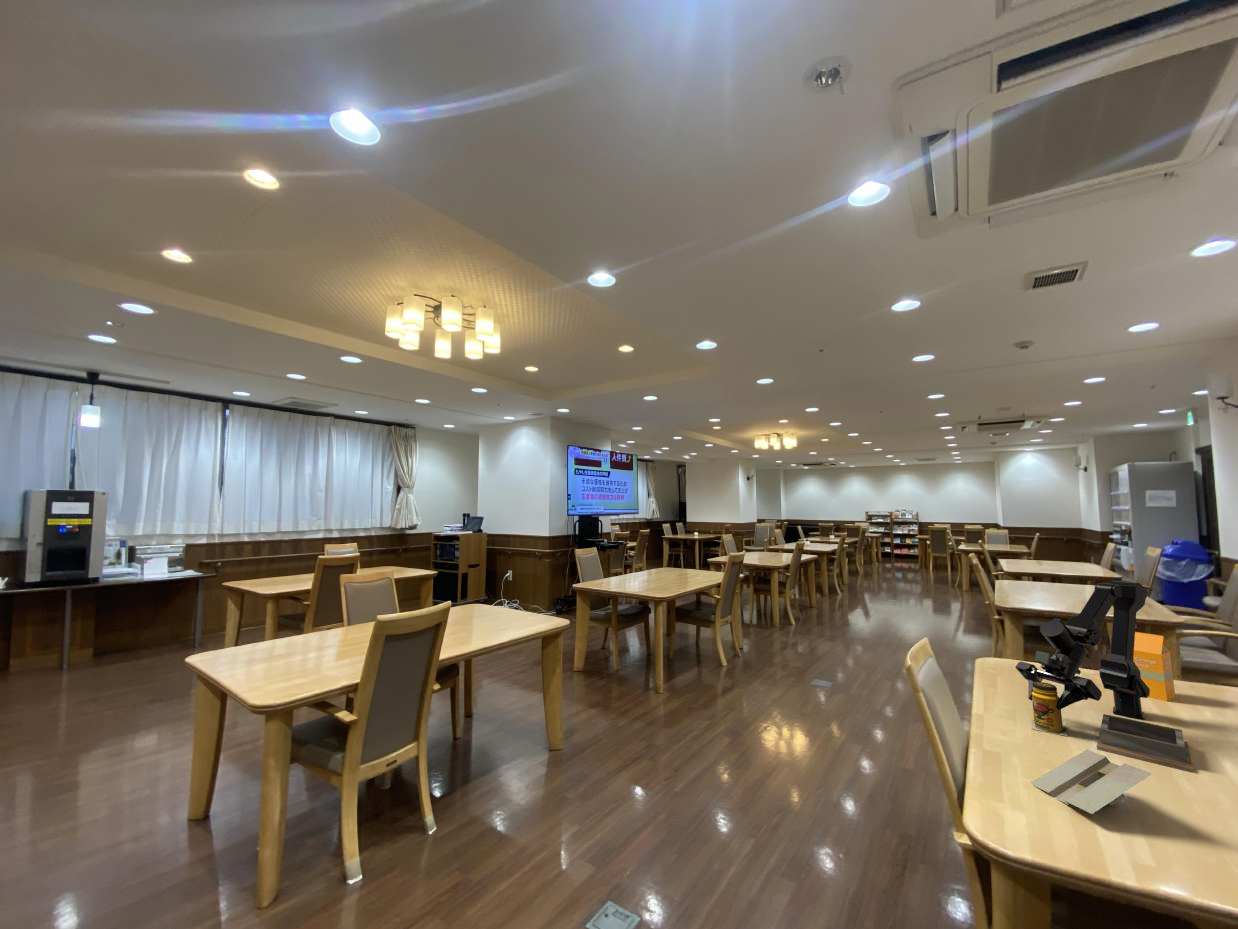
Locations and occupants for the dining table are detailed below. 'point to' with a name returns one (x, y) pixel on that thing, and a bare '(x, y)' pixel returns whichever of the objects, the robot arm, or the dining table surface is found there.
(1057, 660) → the robot arm
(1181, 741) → the well caddy
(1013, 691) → the dining table surface
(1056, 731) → the condiment
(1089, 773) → the grey slotted panel
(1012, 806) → the dining table surface
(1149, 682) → the orange juice
